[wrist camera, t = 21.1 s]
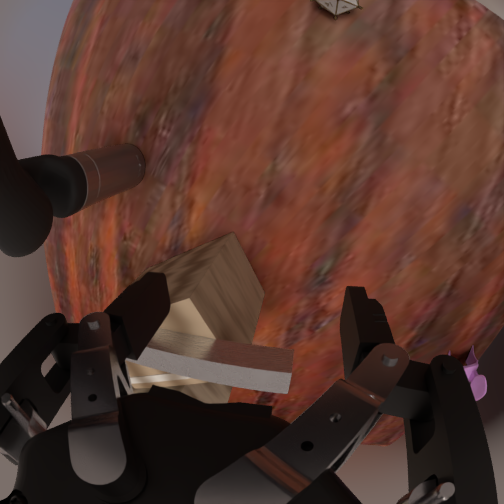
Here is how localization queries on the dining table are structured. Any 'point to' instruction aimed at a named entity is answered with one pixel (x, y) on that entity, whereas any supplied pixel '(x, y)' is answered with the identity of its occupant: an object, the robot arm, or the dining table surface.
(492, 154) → the dining table surface
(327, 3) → the game die
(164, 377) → the stand
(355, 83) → the dining table surface
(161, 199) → the dining table surface
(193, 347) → the bar
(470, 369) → the toy chair
